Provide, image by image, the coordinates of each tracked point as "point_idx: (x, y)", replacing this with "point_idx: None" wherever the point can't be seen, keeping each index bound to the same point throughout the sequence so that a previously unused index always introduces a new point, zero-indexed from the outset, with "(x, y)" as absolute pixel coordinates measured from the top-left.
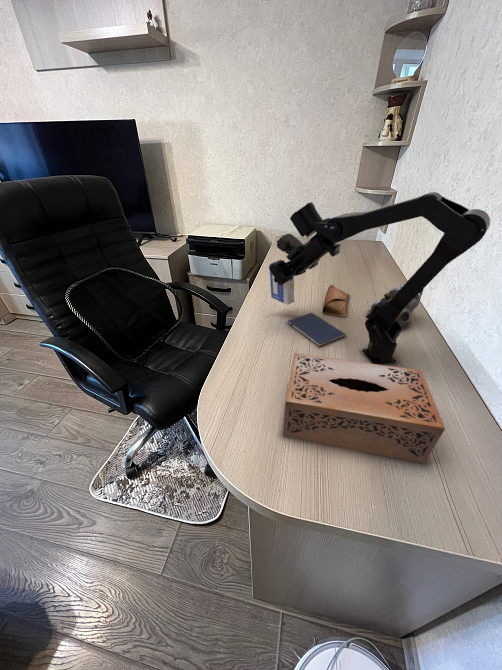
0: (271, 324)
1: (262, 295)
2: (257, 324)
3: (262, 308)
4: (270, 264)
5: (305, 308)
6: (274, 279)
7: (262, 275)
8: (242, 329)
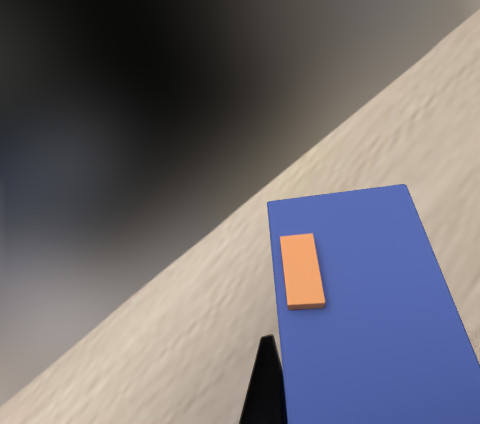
0: (233, 374)
1: (340, 168)
2: (191, 334)
3: None
4: (271, 220)
5: None
6: (259, 354)
7: (425, 56)
8: (130, 326)
